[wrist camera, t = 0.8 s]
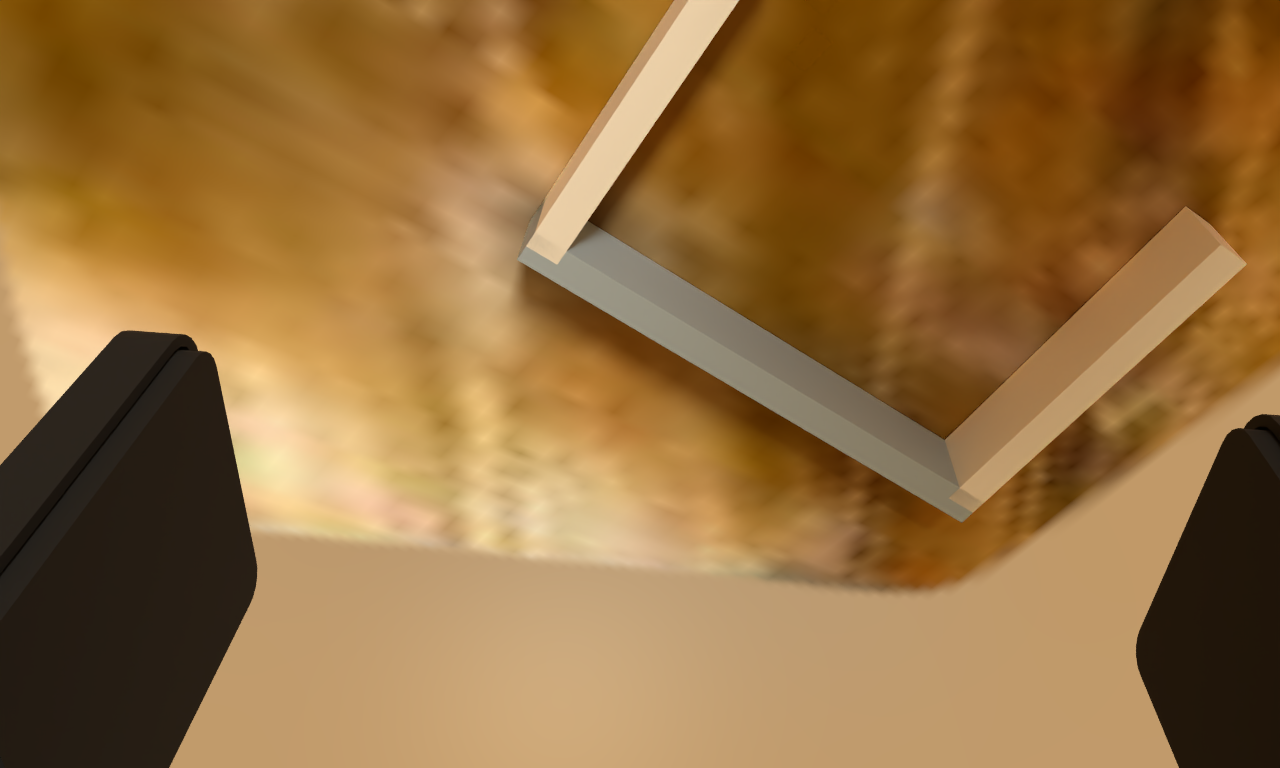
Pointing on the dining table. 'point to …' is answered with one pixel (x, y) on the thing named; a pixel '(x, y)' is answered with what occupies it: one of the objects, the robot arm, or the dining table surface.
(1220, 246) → the u-shaped wooden bracket
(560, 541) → the dining table surface
